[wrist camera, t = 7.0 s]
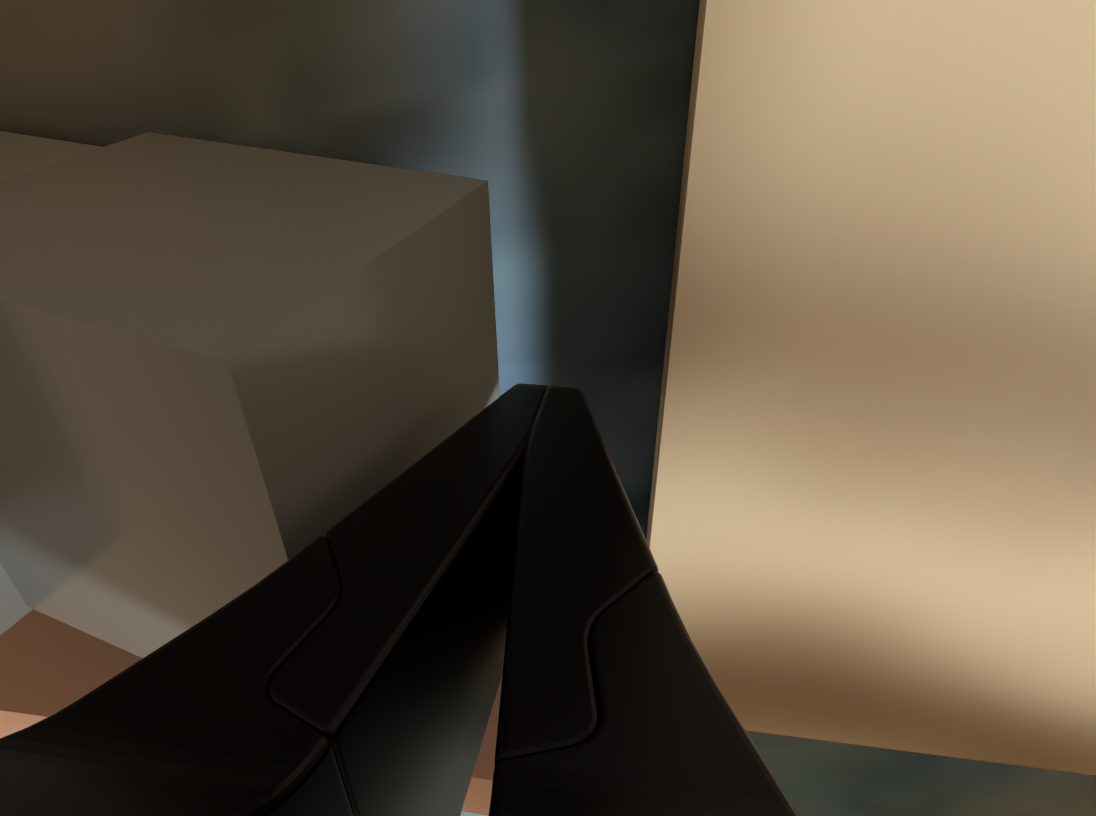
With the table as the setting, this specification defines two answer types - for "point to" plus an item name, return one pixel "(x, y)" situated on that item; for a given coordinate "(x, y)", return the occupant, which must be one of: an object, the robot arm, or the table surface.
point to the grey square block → (221, 365)
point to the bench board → (888, 374)
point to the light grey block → (3, 161)
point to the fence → (87, 662)
